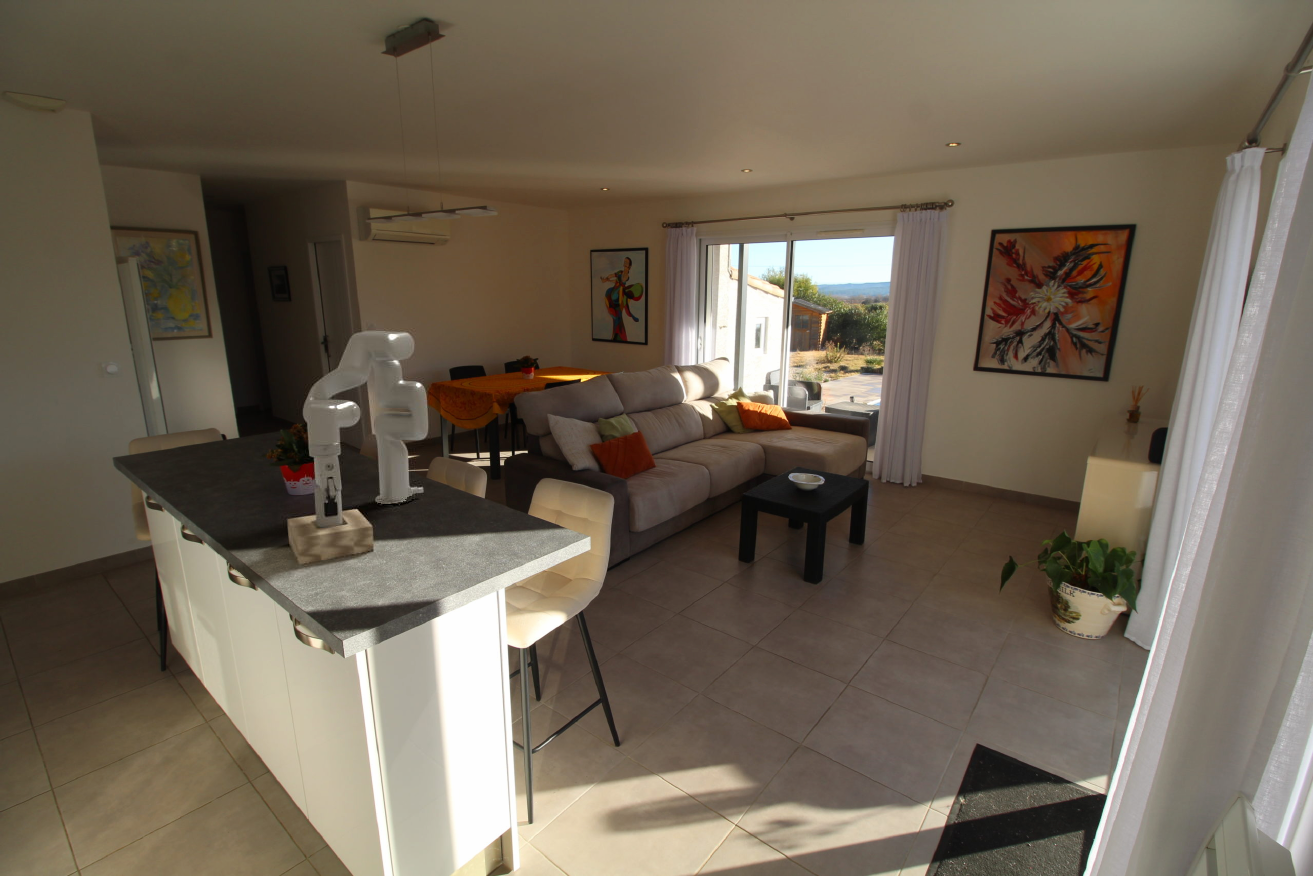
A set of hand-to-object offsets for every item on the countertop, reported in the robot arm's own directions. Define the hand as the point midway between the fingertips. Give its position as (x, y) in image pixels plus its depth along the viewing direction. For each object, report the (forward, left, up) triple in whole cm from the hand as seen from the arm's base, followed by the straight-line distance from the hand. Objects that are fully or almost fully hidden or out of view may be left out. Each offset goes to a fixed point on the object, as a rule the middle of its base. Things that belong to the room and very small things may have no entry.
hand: (328, 512), depth 168 cm
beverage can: (0, 0, -4) cm, 4 cm away
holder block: (0, 0, -10) cm, 10 cm away
